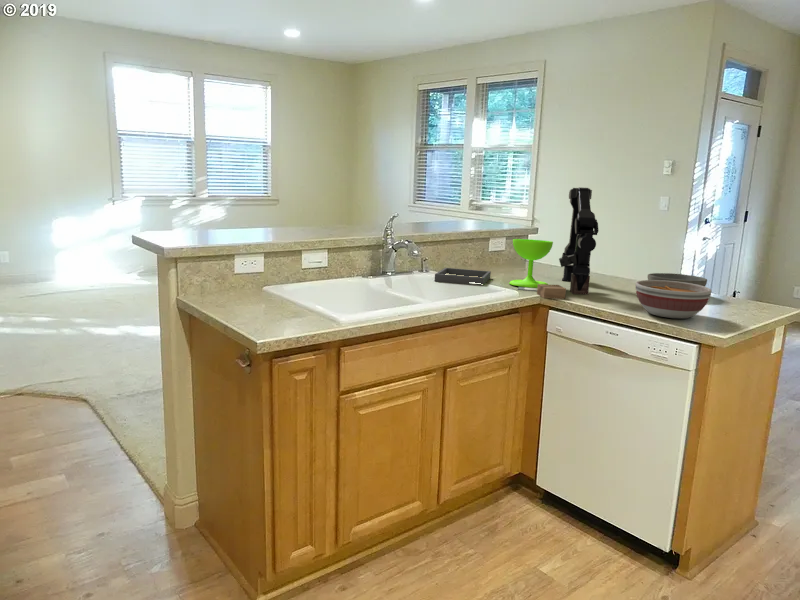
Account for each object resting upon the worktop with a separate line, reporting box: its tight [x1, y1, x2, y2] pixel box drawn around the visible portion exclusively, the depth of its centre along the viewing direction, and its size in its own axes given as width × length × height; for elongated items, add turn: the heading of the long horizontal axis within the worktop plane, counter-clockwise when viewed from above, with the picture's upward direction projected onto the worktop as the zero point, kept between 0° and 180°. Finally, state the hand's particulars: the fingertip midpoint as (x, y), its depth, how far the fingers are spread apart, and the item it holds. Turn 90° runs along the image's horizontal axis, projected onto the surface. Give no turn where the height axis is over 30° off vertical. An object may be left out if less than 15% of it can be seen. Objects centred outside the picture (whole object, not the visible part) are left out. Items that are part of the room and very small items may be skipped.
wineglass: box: [508, 238, 554, 288], centre depth 246 cm, size 16×16×18 cm
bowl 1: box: [647, 272, 708, 287], centre depth 236 cm, size 21×21×8 cm
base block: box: [536, 284, 567, 300], centre depth 226 cm, size 8×8×4 cm
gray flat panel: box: [517, 286, 537, 293], centre depth 239 cm, size 10×14×1 cm
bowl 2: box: [635, 279, 712, 319], centre depth 200 cm, size 23×23×10 cm
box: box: [569, 273, 591, 295], centre depth 234 cm, size 6×6×7 cm
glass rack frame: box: [434, 267, 492, 285], centre depth 255 cm, size 20×20×3 cm
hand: (579, 289), depth 235 cm, fingers closed on box, 6 cm apart
